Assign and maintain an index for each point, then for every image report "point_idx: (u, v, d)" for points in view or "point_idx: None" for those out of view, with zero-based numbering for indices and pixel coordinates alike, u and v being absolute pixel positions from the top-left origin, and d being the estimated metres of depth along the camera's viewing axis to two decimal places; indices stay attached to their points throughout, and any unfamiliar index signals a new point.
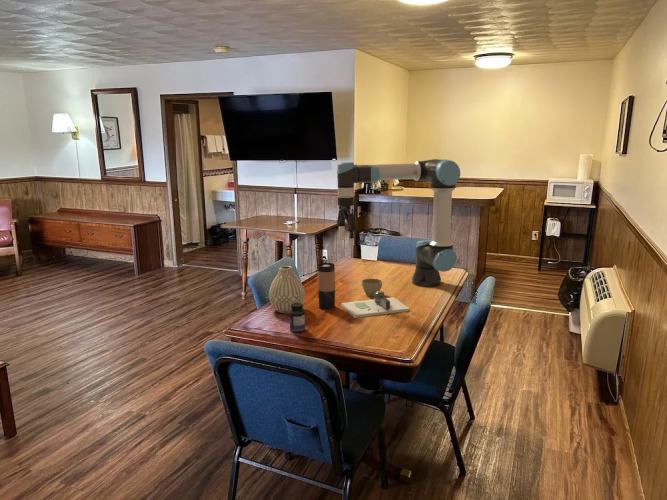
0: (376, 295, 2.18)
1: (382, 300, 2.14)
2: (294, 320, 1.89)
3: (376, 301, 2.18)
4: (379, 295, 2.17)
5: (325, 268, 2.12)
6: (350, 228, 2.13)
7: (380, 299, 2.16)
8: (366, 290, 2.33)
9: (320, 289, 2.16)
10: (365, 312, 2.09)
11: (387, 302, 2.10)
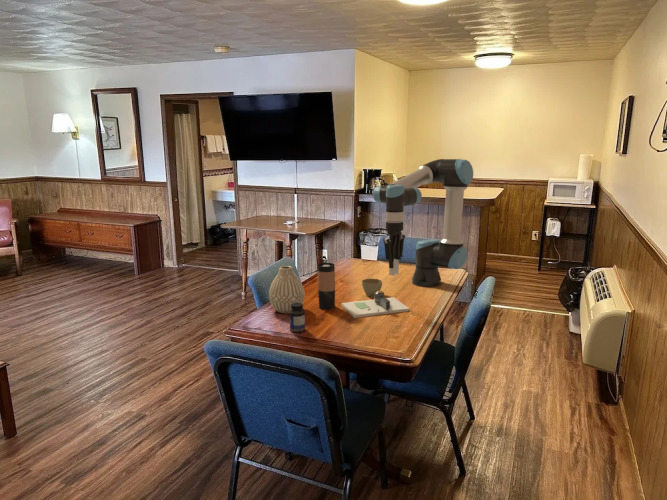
0: (376, 295, 2.18)
1: (382, 300, 2.14)
2: (294, 320, 1.89)
3: (376, 301, 2.18)
4: (379, 295, 2.17)
5: (325, 268, 2.12)
6: (386, 257, 2.08)
7: (380, 299, 2.16)
8: (366, 290, 2.33)
9: (320, 289, 2.16)
10: (365, 312, 2.09)
11: (387, 302, 2.10)
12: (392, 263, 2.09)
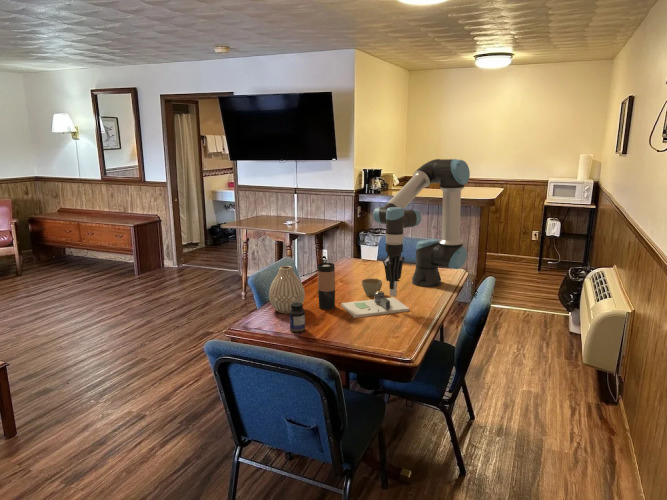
0: (376, 295, 2.18)
1: (382, 300, 2.14)
2: (294, 320, 1.89)
3: (376, 301, 2.18)
4: (379, 295, 2.17)
5: (325, 268, 2.12)
6: None
7: (380, 299, 2.16)
8: (366, 290, 2.33)
9: (320, 289, 2.16)
10: (365, 312, 2.09)
11: (387, 302, 2.10)
12: (392, 284, 2.11)
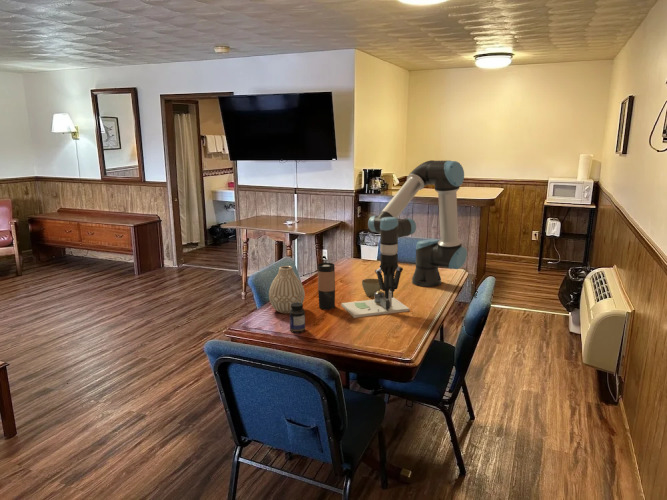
0: (376, 295, 2.18)
1: (382, 300, 2.14)
2: (294, 320, 1.89)
3: (376, 301, 2.18)
4: (379, 295, 2.17)
5: (325, 268, 2.12)
6: None
7: (380, 299, 2.16)
8: (366, 290, 2.33)
9: (320, 289, 2.16)
10: (365, 312, 2.09)
11: (387, 302, 2.10)
12: (387, 294, 2.11)
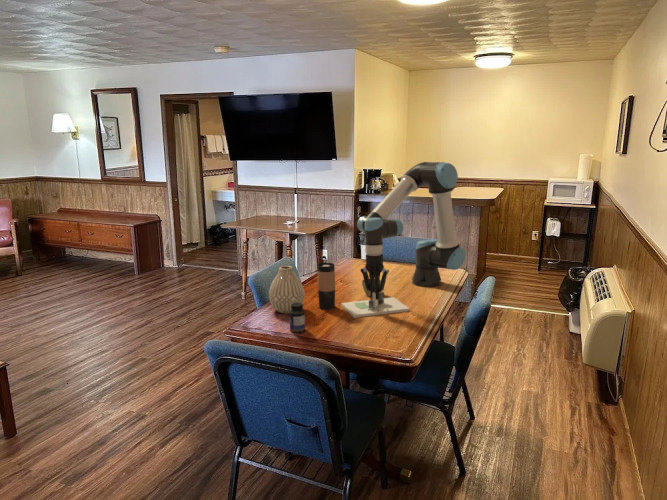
0: None
1: None
2: (294, 320, 1.89)
3: None
4: None
5: (325, 268, 2.12)
6: (369, 286, 2.14)
7: None
8: (366, 290, 2.33)
9: (320, 289, 2.16)
10: (365, 312, 2.09)
11: (370, 302, 2.11)
12: (372, 294, 2.12)
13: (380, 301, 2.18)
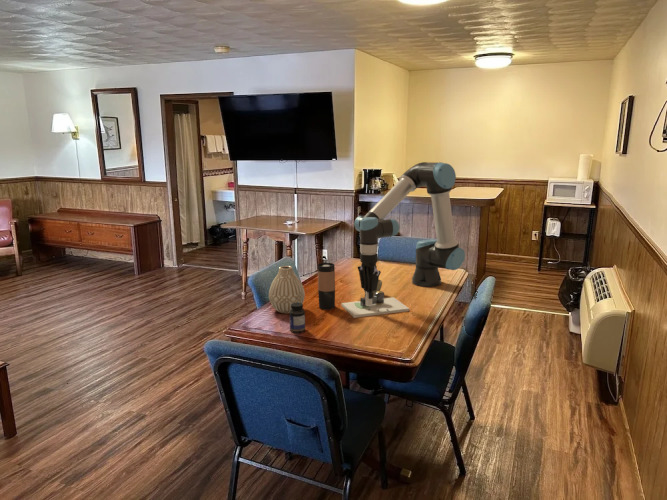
0: None
1: None
2: (294, 320, 1.89)
3: None
4: (374, 294, 2.19)
5: (325, 268, 2.12)
6: None
7: None
8: None
9: (320, 289, 2.16)
10: (365, 312, 2.09)
11: (361, 299, 2.14)
12: None
13: (378, 301, 2.18)
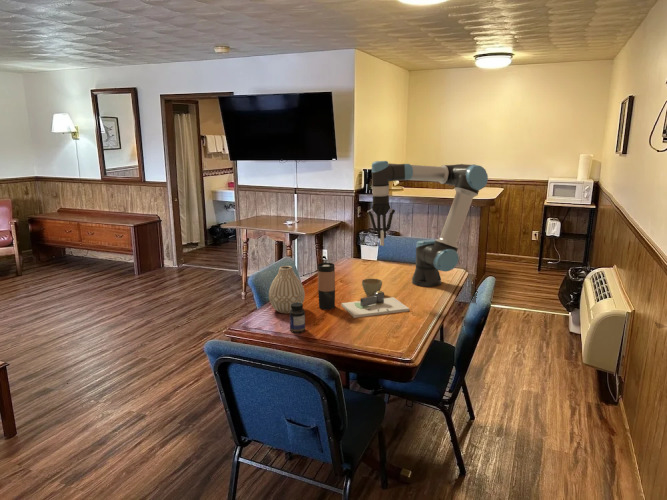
0: None
1: None
2: (294, 320, 1.89)
3: None
4: (374, 294, 2.19)
5: (325, 268, 2.12)
6: None
7: None
8: (366, 290, 2.33)
9: (320, 289, 2.16)
10: (365, 312, 2.09)
11: (361, 299, 2.14)
12: (379, 234, 2.26)
13: (378, 301, 2.18)
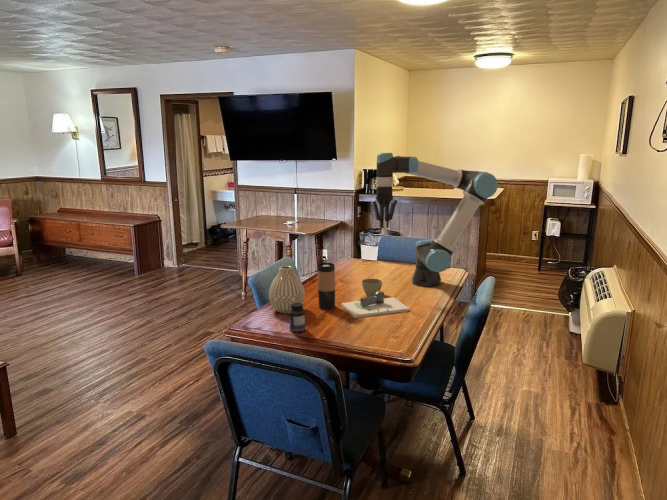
0: None
1: None
2: (294, 320, 1.89)
3: None
4: (374, 294, 2.19)
5: (325, 268, 2.12)
6: None
7: None
8: (366, 290, 2.33)
9: (320, 289, 2.16)
10: (365, 312, 2.09)
11: (361, 299, 2.14)
12: (382, 223, 2.32)
13: (378, 301, 2.18)
